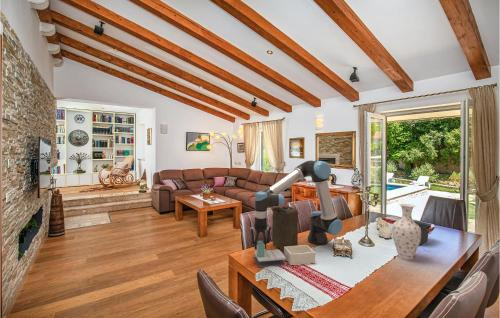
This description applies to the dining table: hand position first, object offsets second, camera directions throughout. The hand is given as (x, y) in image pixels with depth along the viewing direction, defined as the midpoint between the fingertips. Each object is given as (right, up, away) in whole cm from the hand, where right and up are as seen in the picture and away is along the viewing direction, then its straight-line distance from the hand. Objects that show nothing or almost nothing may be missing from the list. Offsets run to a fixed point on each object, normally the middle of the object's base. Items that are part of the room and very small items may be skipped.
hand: (260, 254), depth 151 cm
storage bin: (+123, -5, +35) cm, 129 cm away
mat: (+6, -5, +1) cm, 8 cm away
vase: (+96, -6, +8) cm, 97 cm away
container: (+18, -5, +22) cm, 29 cm away
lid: (+6, -2, +1) cm, 6 cm away
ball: (+28, -4, +5) cm, 28 cm away
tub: (+25, -5, +3) cm, 26 cm away
